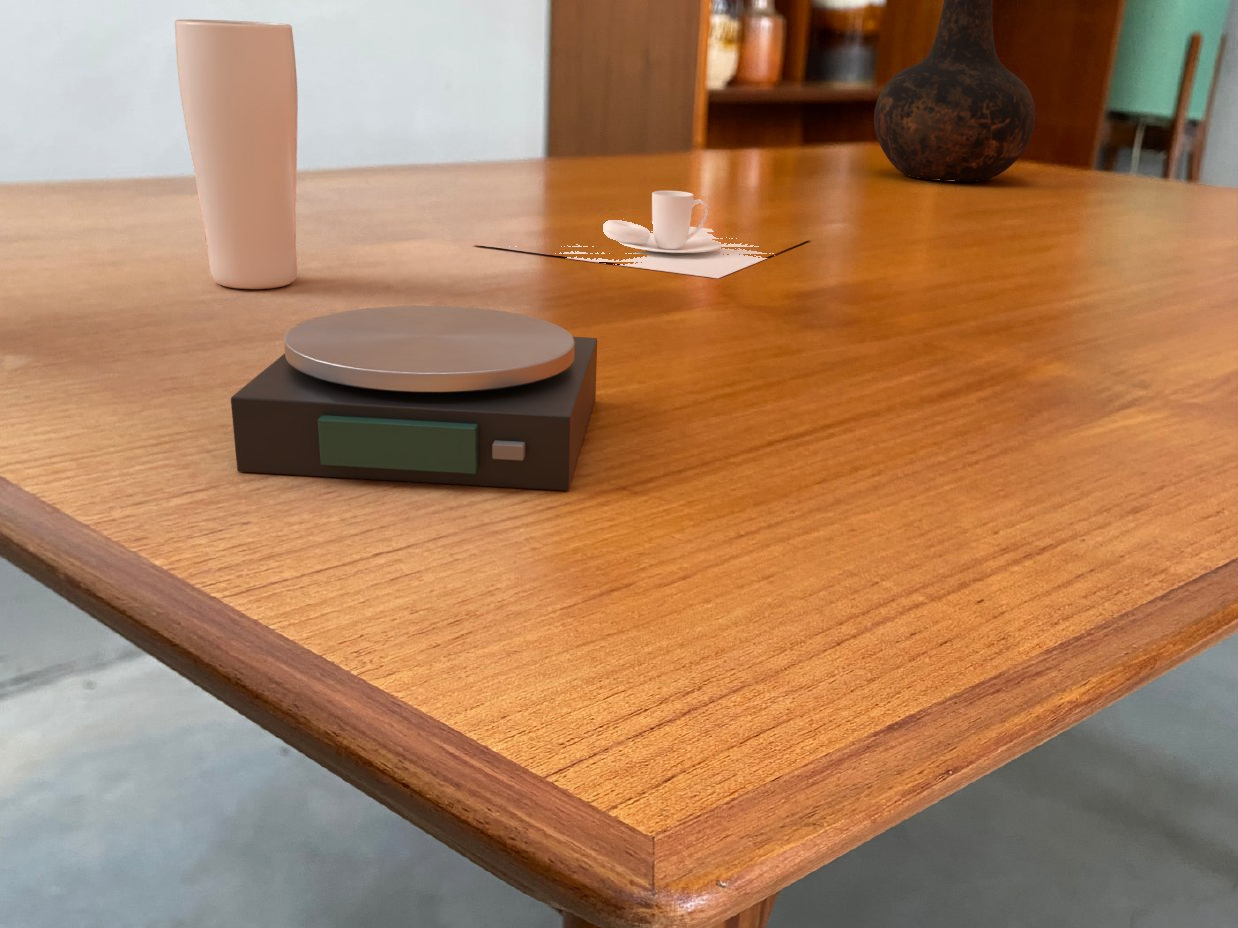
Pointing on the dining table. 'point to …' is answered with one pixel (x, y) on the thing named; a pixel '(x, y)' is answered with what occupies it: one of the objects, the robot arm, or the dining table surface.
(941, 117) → the rusty bud vase
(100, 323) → the dining table surface
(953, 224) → the dining table surface
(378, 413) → the scale
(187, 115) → the drinking glass
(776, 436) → the dining table surface
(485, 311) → the scale pan
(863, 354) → the dining table surface
